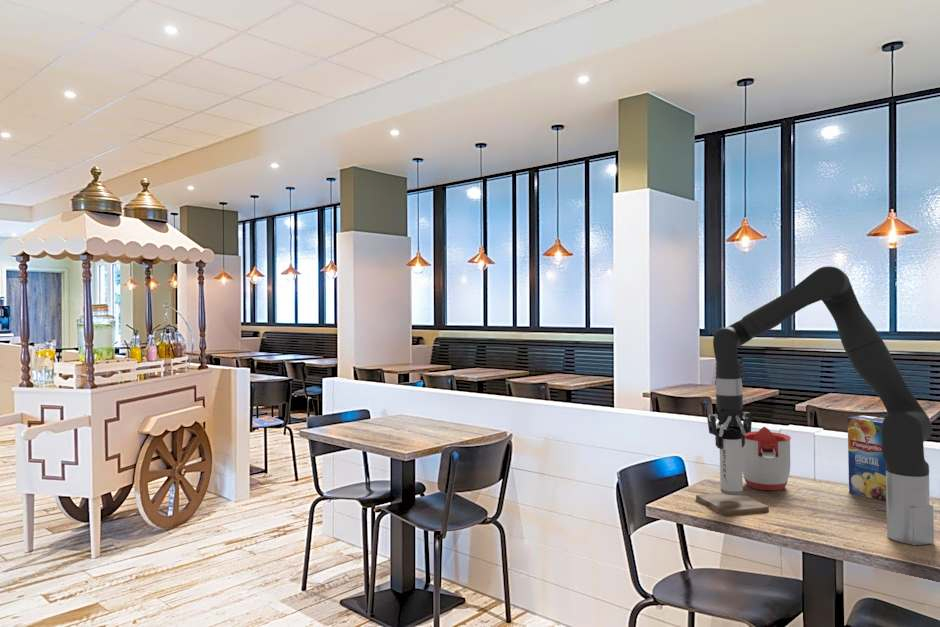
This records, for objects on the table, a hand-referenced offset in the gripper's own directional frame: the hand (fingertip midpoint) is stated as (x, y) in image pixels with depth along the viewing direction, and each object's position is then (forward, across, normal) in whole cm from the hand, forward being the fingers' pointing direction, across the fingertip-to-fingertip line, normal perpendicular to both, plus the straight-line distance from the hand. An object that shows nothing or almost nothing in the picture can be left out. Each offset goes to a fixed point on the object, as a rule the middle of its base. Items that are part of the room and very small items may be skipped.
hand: (730, 447), depth 196 cm
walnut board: (+18, 0, 0) cm, 18 cm away
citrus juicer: (+18, +22, +14) cm, 32 cm away
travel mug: (+14, 0, 0) cm, 14 cm away
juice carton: (+18, +48, -3) cm, 51 cm away
